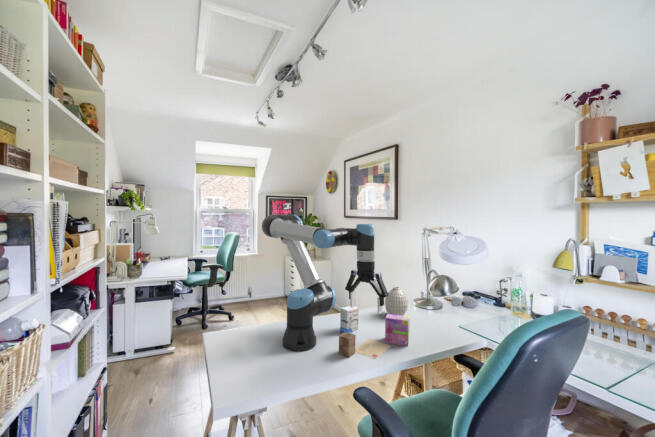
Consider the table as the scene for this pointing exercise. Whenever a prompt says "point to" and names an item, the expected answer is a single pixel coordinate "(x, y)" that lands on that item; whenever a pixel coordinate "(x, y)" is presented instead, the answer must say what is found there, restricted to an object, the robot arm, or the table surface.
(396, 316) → the box
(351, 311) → the ink box
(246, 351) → the table surface
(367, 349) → the letter
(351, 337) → the block
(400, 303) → the vase
